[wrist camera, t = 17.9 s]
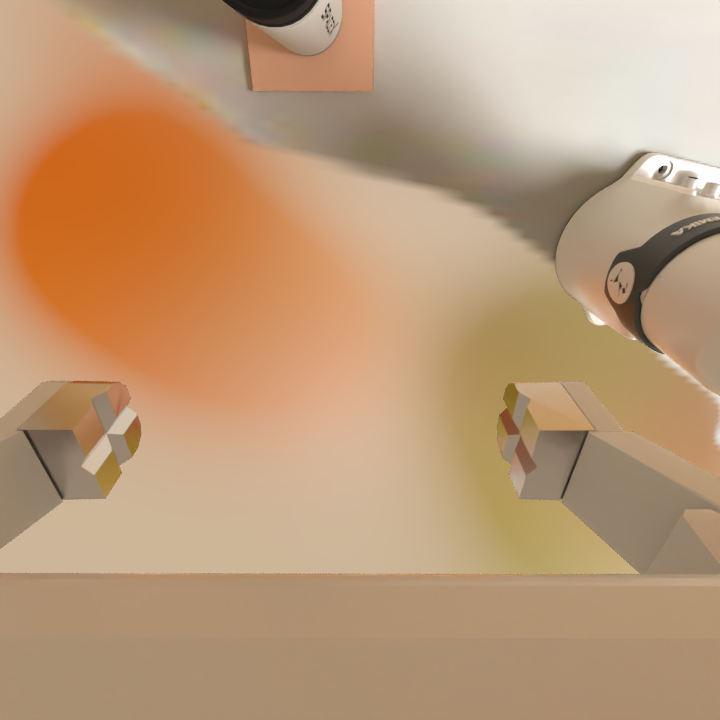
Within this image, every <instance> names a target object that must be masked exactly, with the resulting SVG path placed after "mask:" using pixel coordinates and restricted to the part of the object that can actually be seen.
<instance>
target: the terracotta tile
mask: <svg viewBox="0 0 720 720" xmlns="http://www.w3.org/2000/svg"><path fill="white" fill-rule="evenodd" d="M342 5H343V17H342V24H341V28H340V31H339V34H338V35H337V37H336V39H335V41H334V42H333V44H332V45H331V46H330V47H329V48H328V49H327V50H325V51H324V52H322V53H320V54H318V55H314V56H302V55H298V54H296V53H294V52H292V51H290V50H289V49H287V48H286V47H284V46H283V45H282V44H280V43H279V42H277V41H276V40H274V39H273V38H272V37H270V36H269V35H267V34H266V33H265V32H263V31H262V30H260V29H259V28H258V27H256V26H255V25H253V24H252V23H250V22H249V21H248V20H246V19H245V23H246V32H247V41H248V50H249V59H250V68H251V76H252V85H253V91H373V43H374V0H342Z"/></svg>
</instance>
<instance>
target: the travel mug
mask: <svg viewBox="0 0 720 720" xmlns="http://www.w3.org/2000/svg"><path fill="white" fill-rule="evenodd" d="M223 1H224V2H225V3H227V4H228V5H229V6H231V7H232V8H233V9H234V10H236V12H237V13H239V14H240V15H241V16H243V17H244V18H245V19H246V20H248V21H249V22H250V23H252V24H253V25H255V26H256V27H258V28H259V29H260V30H262V31H263V32H265V33H266V34H267V35H269V36H270V37H272V38H273V39H274V40H276V41H277V42H279V43H280V44H282V45H283V46H284V47H286V48H287V49H289V50H290V51H292V52H294V53H296V54H298V55H302V56H314V55H318V54H320V53H322V52H324V51H325V50H327V49H328V48H329V47H330V46H331V45H332V44H333V42H334V41H335V39H336V37H337V35H338V34H339V31H340V28H341V24H342V17H343V5H342V0H223Z"/></svg>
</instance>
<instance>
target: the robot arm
mask: <svg viewBox="0 0 720 720" xmlns="http://www.w3.org/2000/svg"><path fill="white" fill-rule="evenodd" d="M662 165H663V169H662V171H661V172H658V169H659V168H660V166H662ZM555 265H556V273H557V276H558V279H559V282H560V284H561V286H562V287H563V289H564V290H565V291H566V292H567V293H568V294H569V295H570V296H571V297H572V298H574V299H575V300H576V301H578V302H579V303H580V304H581V305H582V307H583V310H584V312H585V314H586V316H587V318H588V320H589V321H591V322H592V323H594V324H596V325H605V324H607V325H609V326H610V327H612V328H613V329H615V330H616V331H618V332H620V333H621V334H622V335H624V336H625V337H627V338H629V339H632V340H636V339H637V340H638V341H639V342H641V343H643V344H644V345H646V346H648V347H649V348H651V349H653V350H654V351H657V352H659V353H662V354H665V355H667V356H668V357H669V358H670V359H671V360H673V361H674V362H675V363H676V364H677V365H679V366H680V367H681V368H682V369H683V370H685V371H686V372H687V373H688V374H690V375H691V376H692V377H693V378H694V379H696V380H697V381H698V382H699V383H700V384H702V385H703V386H704V387H705V388H706V389H708V390H709V391H711V392H713V393H715V394H717V395H719V396H720V168H718V167H714V166H710V165H706V164H701V163H697V162H693V161H689V160H685V159H680V158H676V157H672V156H668V155H664V154H659V153H654V152H652V153H647V154H645V155H644V156H642V157H641V158H640V159H639V160H638V161H637V162H636V163H635V164H634V165H633V166H632V167H631V168H630V169H629V170H628V171H627V172H626V173H625V174H624V175H623V177H622V178H620V179H619V180H618V181H616V182H614V183H613V184H611V185H609V186H608V187H606V188H604V189H603V190H601V191H599V192H598V193H596V194H595V195H594V196H592V197H591V198H590V199H589V200H587V201H586V202H585V203H584V204H583V205H582V206H581V207H580V208H579V209H578V210H577V212H576V213H575V214H574V215H573V217H572V218H571V219H570V221H569V222H568V224H567V225H566V227H565V229H564V231H563V233H562V235H561V237H560V240H559V243H558V247H557V251H556V260H555ZM130 400H131V396H130V394H129V391H128V389H127V386H126V385H124V384H122V383H121V382H104V381H47V382H43V383H41V384H40V385H39V386H37V387H36V388H35V389H34V390H33V391H32V392H31V393H29V394H28V395H27V396H26V397H25V398H24V399H23V400H22V401H20V402H19V403H18V404H17V405H16V406H15V407H13V408H12V409H11V410H10V411H9V412H7V413H6V414H5V415H4V416H3V417H2V418H1V419H0V549H1V548H2V547H3V546H5V545H6V544H7V543H9V542H10V541H11V540H13V539H14V538H15V537H17V536H18V535H19V534H21V533H22V532H23V531H24V530H26V529H27V528H29V527H30V526H31V525H32V524H34V523H35V522H37V521H38V520H39V519H41V518H42V517H43V516H44V515H46V514H47V513H49V512H50V511H51V510H53V509H54V508H55V507H56V506H58V505H59V504H60V503H62V502H63V501H62V500H70V499H105V498H106V497H107V495H108V494H109V492H110V491H111V489H112V488H113V486H114V485H115V483H116V482H117V480H118V478H119V477H120V475H121V474H122V472H121V468H120V465H121V464H122V463H124V462H125V461H127V460H129V459H130V458H132V456H133V455H134V453H135V452H136V450H137V448H138V446H139V442H140V438H141V424H140V421H139V418H138V415H137V414H136V413H135V412H134V411H132V410H131V409H130V408H129V407H128V404H129V402H130ZM503 400H504V402H505V404H506V406H507V408H506V409H505V410H504V411H503V412H502V413H501V414H500V415H499V419H498V424H497V442H498V446H499V450H500V453H501V455H502V458H503V459H505V460H506V461H507V462H509V463H510V464H511V467H510V471H509V476H510V478H511V481H512V483H513V485H514V488H515V490H516V493H517V495H518V498H519V499H530V500H562V503H563V504H564V505H565V506H566V507H567V508H568V509H569V510H570V511H572V512H573V513H574V514H575V515H576V516H577V517H578V518H579V519H580V520H581V521H583V522H584V523H585V524H586V525H587V526H588V527H589V528H590V529H592V531H594V532H595V533H596V534H597V535H598V536H599V537H600V538H601V539H602V540H604V541H605V542H606V543H607V544H608V545H609V546H610V547H611V548H612V549H613V550H615V551H616V552H617V553H618V554H619V555H620V556H621V557H622V558H623V559H625V560H626V561H627V562H628V563H629V564H630V565H631V566H632V567H633V568H634V569H636V570H637V571H638V572H639V573H640V574H222V573H218V574H216V573H215V574H214V573H212V574H210V573H207V574H205V573H202V574H201V573H199V574H198V573H197V574H196V573H191V574H190V573H188V574H187V573H184V574H183V573H166V574H165V573H160V574H159V573H0V720H720V477H718V476H716V475H714V474H713V473H711V472H709V471H707V470H705V469H703V468H701V467H699V466H697V465H696V464H694V463H692V462H690V461H688V460H686V459H684V458H682V457H680V456H678V455H676V454H675V453H673V452H671V451H669V450H667V449H665V448H663V447H661V446H659V445H657V444H656V443H654V442H652V441H650V440H648V439H646V438H644V437H642V436H640V435H638V434H636V433H635V432H630V431H624V430H623V429H622V428H621V426H620V425H619V424H618V423H617V421H616V420H615V419H614V418H613V416H612V415H611V414H610V413H609V411H608V410H607V409H606V408H605V406H603V404H602V403H601V402H600V400H599V399H598V398H597V397H596V395H595V394H594V393H593V392H592V390H591V389H590V388H589V387H588V385H587V384H585V383H583V382H581V381H569V382H555V383H554V382H552V383H551V382H550V383H509V384H508V385H507V387H506V389H505V392H504V396H503Z"/></svg>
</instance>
